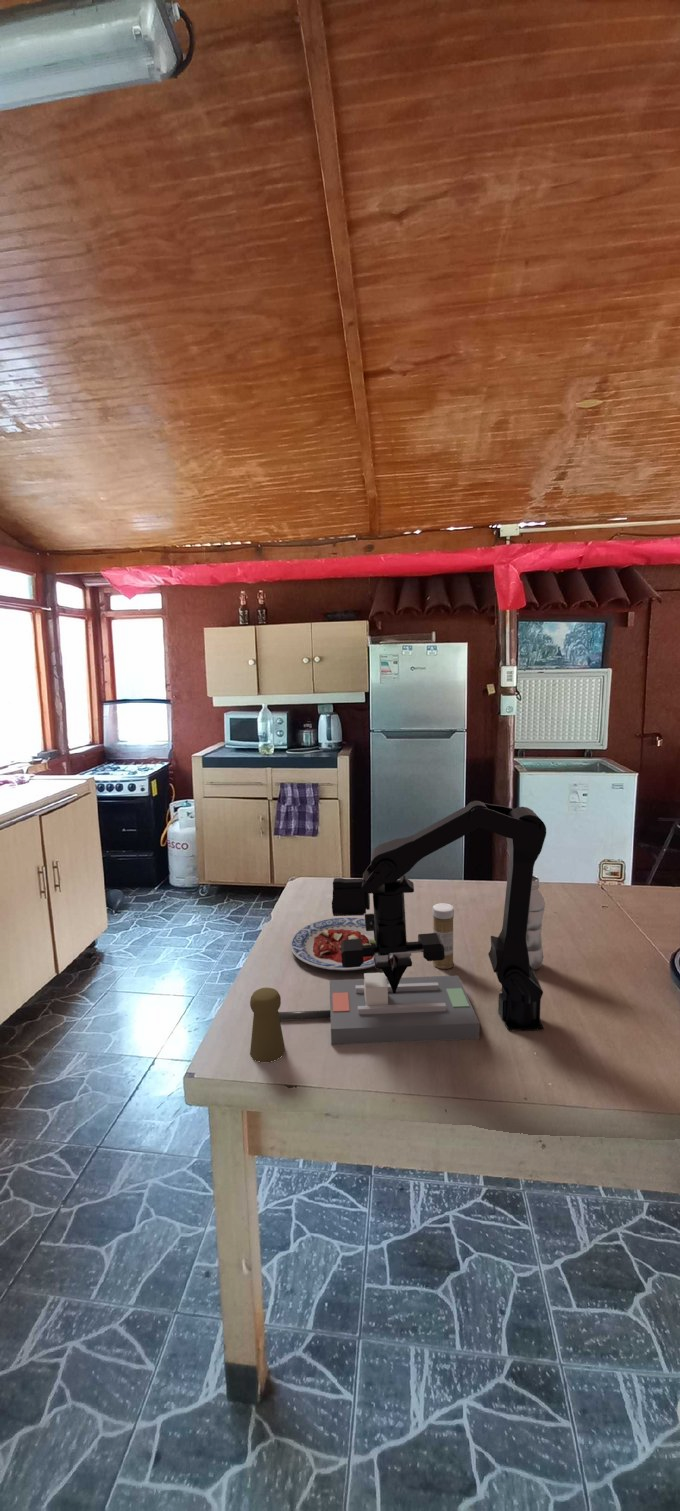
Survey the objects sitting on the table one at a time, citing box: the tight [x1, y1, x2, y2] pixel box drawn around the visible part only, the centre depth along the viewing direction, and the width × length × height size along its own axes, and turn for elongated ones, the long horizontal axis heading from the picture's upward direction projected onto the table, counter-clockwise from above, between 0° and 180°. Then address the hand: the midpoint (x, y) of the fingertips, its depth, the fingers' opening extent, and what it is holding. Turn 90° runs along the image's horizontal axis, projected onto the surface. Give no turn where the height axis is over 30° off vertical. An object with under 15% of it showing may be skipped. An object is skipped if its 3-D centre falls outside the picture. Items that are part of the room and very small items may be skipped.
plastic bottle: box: [526, 875, 546, 971], centre depth 126 cm, size 6×7×20 cm
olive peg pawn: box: [249, 987, 286, 1063], centre depth 100 cm, size 6×6×11 cm
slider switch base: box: [278, 975, 480, 1046], centre depth 110 cm, size 36×16×4 cm, turn 92°
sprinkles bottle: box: [432, 902, 455, 970], centre depth 128 cm, size 5×5×14 cm
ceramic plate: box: [289, 917, 393, 971], centre depth 137 cm, size 26×26×3 cm
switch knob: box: [363, 972, 388, 1006], centre depth 110 cm, size 4×5×4 cm
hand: (394, 992), depth 110 cm, fingers closed
